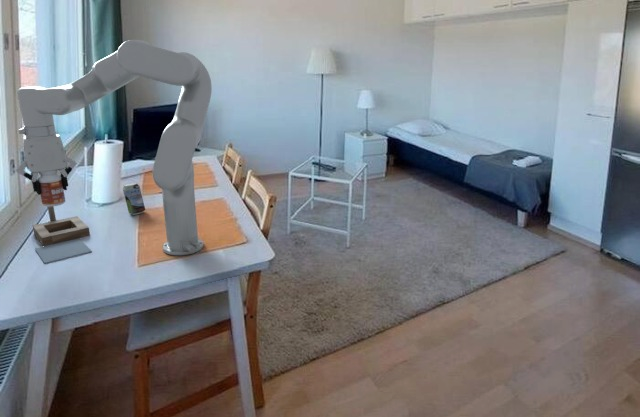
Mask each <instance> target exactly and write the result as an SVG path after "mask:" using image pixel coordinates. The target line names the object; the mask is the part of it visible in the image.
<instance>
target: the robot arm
mask: <svg viewBox="0 0 640 417" xmlns="http://www.w3.org/2000/svg"><path fill="white" fill-rule="evenodd" d="M140 77H142V78H145V79H149V80H152V81H156V82H160V83H163V84H167V85H171V86H176V87H181V91H180V95H179V97H178V101H177V105H176V109H175V112H174V115H173V119H172V120H171V122H170V123H168V124H167V126H166V127H165V128H164V130H163V131H162V134H161V137H160V140H159V144H158V147H157V152H156V153H155V154H156V155H155V159H154V163H153V166H152V171H151V175H152V179H153V181H154V184H155V185H156V186H157V187H158V188H159V189H161V192H162V193H161V194H162V205H163V213H164V214H163V215H164V216H163V217H164V222H165V223H164V225H165V232H166V233H165V234H166V241H165V242H164V244H163V245H162V251H163V253H165V254H168V255H171V256H187V255H193V254H195V253H197V252H199V251H201V250H202V249H203V248H204V241H203V240H202V239H201V238H199V236H198V235H199V234H198V232H199V231H198V223H197V222H198V221H197V211H196V210H197V209H196V196H195V168H194V162H193V158H194V154H195V151H196V148H197V146H198V145H199V143H200V142H201V138H202V133H203V129H204V125H205V121H206V117H207V113H208V109H209V106H210V102H211V98H212V91H213V90H212V80H211V76H210V73H209V71H208V69H207V67H206V66H205V64H204V63H202V61H201V60H200V59H199V58H198V57H197V56H195V55H194V54H191V53H189V52H180V51H179V52H176V51H172V50H168V49H164V48H161V47H157V46H154V45H152V44H151V43H150V42H149V41H146V40H144V39H143V40H142V39H129V40H126V41H124V42H123V43H121V45H120V46H118V49H117V50H116V51H114V52H112V53H110V54H109V55H107V56H105V57H103V58H101V59H100V60H98V61H96V62H95V63H94V64H93V65H92V69H91V70H90V71H89V72H88V73H86V74H85V75H83V76H82V77H80V78H78V79H76V80H74V81H73V82H71V83H69V84H66V85H60V86H56V87H49V88H46V87H43V86H25V87H20V88H19V89H18V90H17V92H16V93H17V98H18V99H17V100H18V105H19V109H20V113H21V119H22V124H23V127H22V128H20V129H18V134H19V135H25V136H24V137H23V143H22V144H23V155H24V160H23V161H22V162H21V163H20V164H19V165H18V167H17V168H16V169H15V171H16V172H17V173H18V174H20V175H21V176H23V177H25V178H26V179H27V180H30V181H31V185H32V188H33V191H34V193H36V194H37V195H39V196H41V195H40V194H41V189H40V184H39V181H38V177H39V173H40V172H48V171H55V170H57V171H59V173H60V176H61V179H62V184H63V190H64V191H68V188H67V187H69V182H68V176H69V174H70V173H71V172H72V170H73V169H74V168H75V167H76V165H77V162H76V161H75V160H73V159H71V157H69V156H68V155H66V151H65V147H64V146H65V145H64V144H63V140H62V138H61V136H60V134H57V131H56V127H55V120H54V115H55V116H65V115H67V114H72V113H73V112H76V111H77V112H78V111H80V110H82V109H84V108H86V107H88V106H90V105H91V104H93V103H95V102H97V101H99V100H101V99H102V98H103V97H105V96H107V95H109V94H112V93H113V92H115V91H116V90H119V89H120V88H122V87H124V86H125V85H127V84H128V83H131V82H132V81H134V80H136V79H138V78H140ZM25 169H27V170H28V171H29V172H30V173H28V172H27V171H25Z"/></svg>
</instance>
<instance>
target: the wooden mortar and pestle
mask: <svg viewBox="0 0 640 417" xmlns="http://www.w3.org/2000/svg"><path fill="white" fill-rule="evenodd" d="M46 207H47V212H48V217H49V221H47V222H46V221H45V222H42V223H38V224H32V230H33V233H34V236H35V237H36V238H37V239H39V240H38V241H39V242H40V244H41V245H42V247H43V246H48V245H52V244H57V243H61V242H65V241H70V240H74V239H78V238H80V239H82V238H86V237H90V236H91V234H90V227H89V226H88V225H87V224H86V223H85V222H83V220H82V219H80V218H79V216H78V215H77V216H72V217H66V218H62V219H57V218H56V213H55V208H54V207H55V206H46Z"/></svg>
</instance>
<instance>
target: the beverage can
mask: <svg viewBox="0 0 640 417" xmlns="http://www.w3.org/2000/svg"><path fill="white" fill-rule="evenodd" d="M122 192H123V195H124V200H125V203H126V206H127V210H128V214H131V215H132V216H133V215H134V216H136V215H140V214H143V213H144V212H145V210H146V206H145V203H144V199H143V198H144V197H143V194H142V191H141V188H140V185H139V184H138V182H129V183H127V184H126V183H125V184H124V185H123V188H122Z"/></svg>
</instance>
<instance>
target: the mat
mask: <svg viewBox="0 0 640 417" xmlns="http://www.w3.org/2000/svg"><path fill="white" fill-rule="evenodd" d="M34 250H35V251H36V253H37V255H38V256H39V257H40V259H41V260H42V262H43V264H44V265H46V263H47V264H50V263H54V262H58V261H62V260H67V259H71V258H74V257H77V256H82V255H85V254H89V253H92V250H91V249H90V248H89V247H88V245H87V244H86V243H85V242H84V241H83V240H82V238H78V239H74V240H70V241H65V242H61V243H57V244H52V245H48V246H44V247H43V246H41V247H35V248H34Z"/></svg>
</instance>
